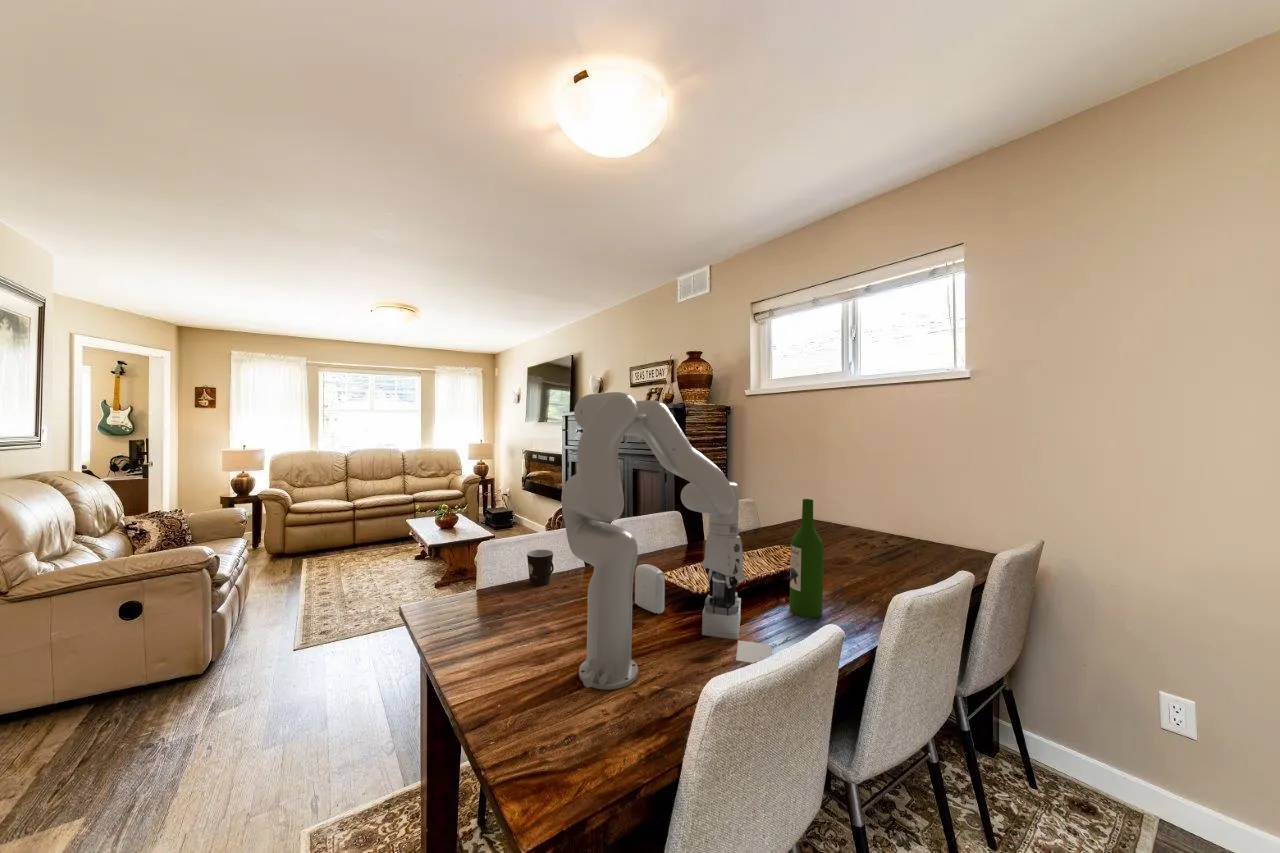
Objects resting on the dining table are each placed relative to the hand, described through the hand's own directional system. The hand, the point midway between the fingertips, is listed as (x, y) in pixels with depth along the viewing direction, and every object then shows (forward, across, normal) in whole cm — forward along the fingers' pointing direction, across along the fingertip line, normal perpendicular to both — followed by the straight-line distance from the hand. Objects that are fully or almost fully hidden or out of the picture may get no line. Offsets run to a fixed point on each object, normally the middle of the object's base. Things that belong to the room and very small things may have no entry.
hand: (721, 597), depth 120 cm
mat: (+9, -13, +2) cm, 16 cm away
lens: (+2, 0, 0) cm, 2 cm away
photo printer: (+9, +22, +7) cm, 25 cm away
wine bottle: (+9, -5, -30) cm, 31 cm away
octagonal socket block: (+9, +1, -1) cm, 9 cm away
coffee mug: (+9, +57, +26) cm, 63 cm away
